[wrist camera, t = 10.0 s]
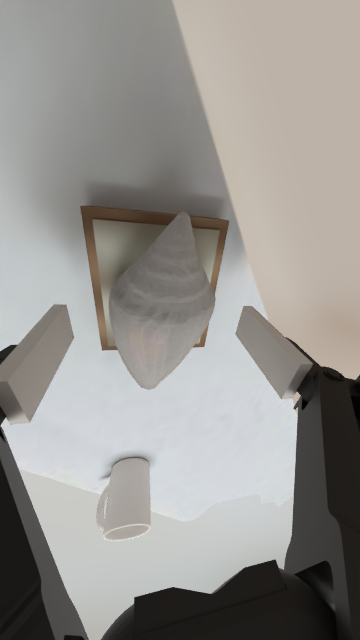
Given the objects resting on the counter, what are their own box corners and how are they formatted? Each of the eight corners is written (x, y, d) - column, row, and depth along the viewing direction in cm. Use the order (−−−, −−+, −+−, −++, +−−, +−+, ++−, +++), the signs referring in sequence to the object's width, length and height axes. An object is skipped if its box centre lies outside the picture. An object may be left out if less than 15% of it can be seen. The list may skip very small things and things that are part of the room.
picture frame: (89, 205, 17) (79, 206, 14) (217, 218, 19) (230, 220, 16) (106, 334, 24) (101, 352, 21) (198, 333, 26) (204, 348, 23)
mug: (113, 483, 46) (106, 549, 37) (89, 473, 41) (74, 545, 33) (156, 464, 44) (159, 528, 35) (135, 452, 40) (132, 521, 31)
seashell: (161, 285, 26) (214, 202, 12) (197, 361, 26) (295, 368, 12) (97, 308, 23) (68, 232, 9) (137, 395, 22) (173, 461, 8)
